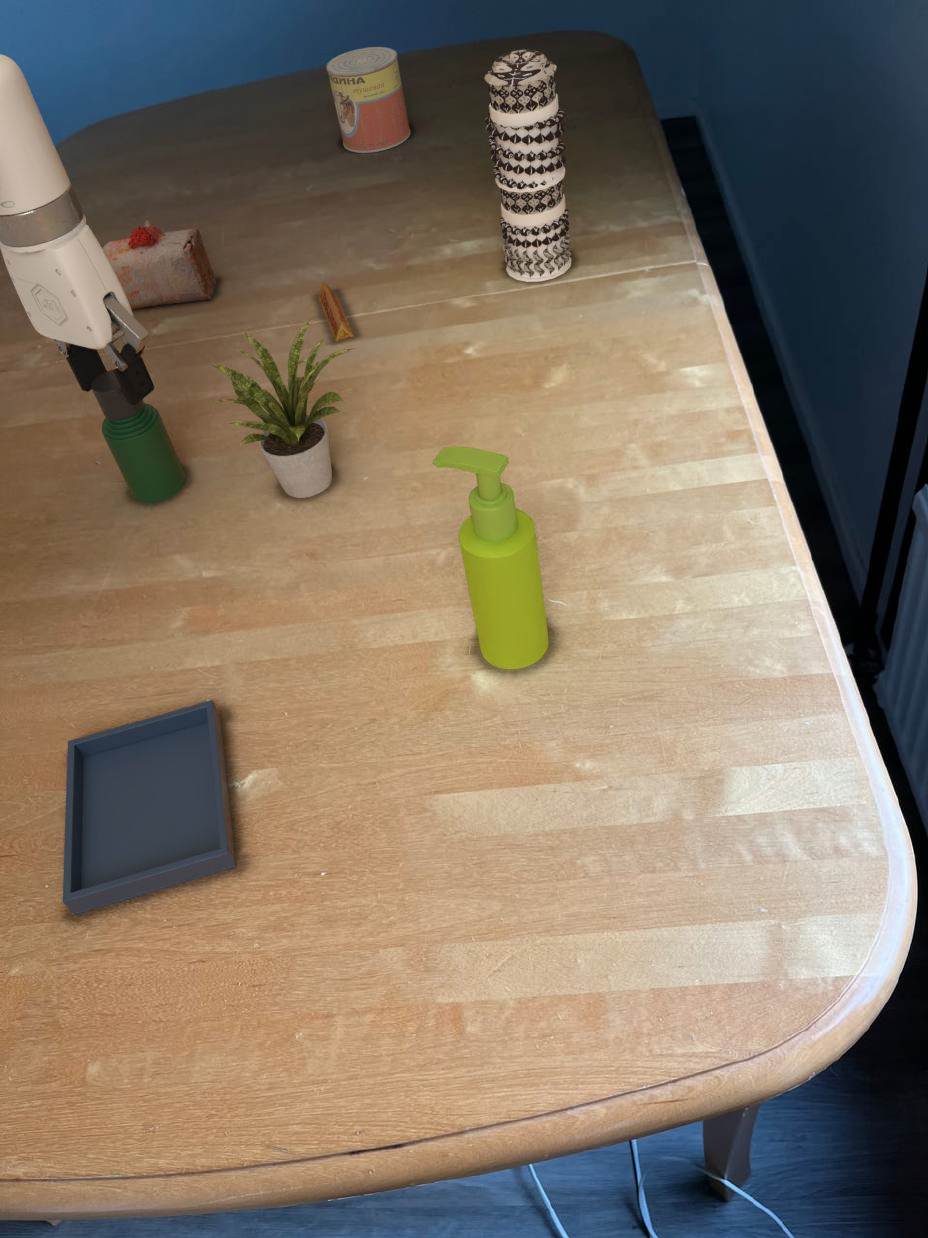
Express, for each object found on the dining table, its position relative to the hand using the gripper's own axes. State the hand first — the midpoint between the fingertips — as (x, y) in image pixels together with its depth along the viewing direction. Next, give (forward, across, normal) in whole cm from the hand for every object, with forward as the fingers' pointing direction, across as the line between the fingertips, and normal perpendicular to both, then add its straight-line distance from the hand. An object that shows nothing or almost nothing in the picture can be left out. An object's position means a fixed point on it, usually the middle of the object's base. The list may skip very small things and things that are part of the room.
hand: (118, 388), depth 101 cm
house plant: (+13, +16, +8) cm, 22 cm away
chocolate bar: (+13, -2, +35) cm, 37 cm away
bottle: (+12, 0, 0) cm, 12 cm away
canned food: (+13, -30, +84) cm, 90 cm away
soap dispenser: (+13, +46, -4) cm, 48 cm away
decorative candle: (+13, +17, +54) cm, 58 cm away
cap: (+2, 0, 0) cm, 2 cm away
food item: (+13, -29, +32) cm, 45 cm away
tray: (+12, +29, -31) cm, 44 cm away
